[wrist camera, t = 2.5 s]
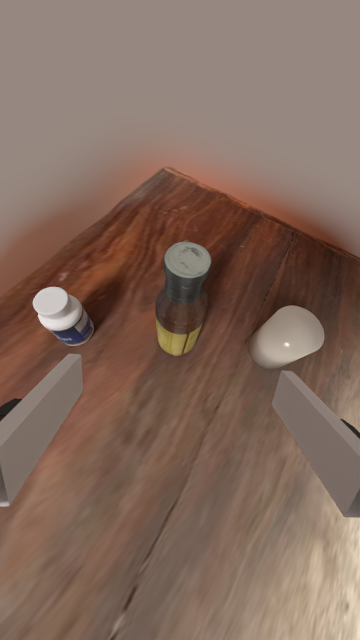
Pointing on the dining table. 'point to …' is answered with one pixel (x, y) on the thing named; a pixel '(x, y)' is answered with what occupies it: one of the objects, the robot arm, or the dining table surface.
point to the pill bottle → (63, 316)
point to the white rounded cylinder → (286, 337)
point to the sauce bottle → (182, 297)
